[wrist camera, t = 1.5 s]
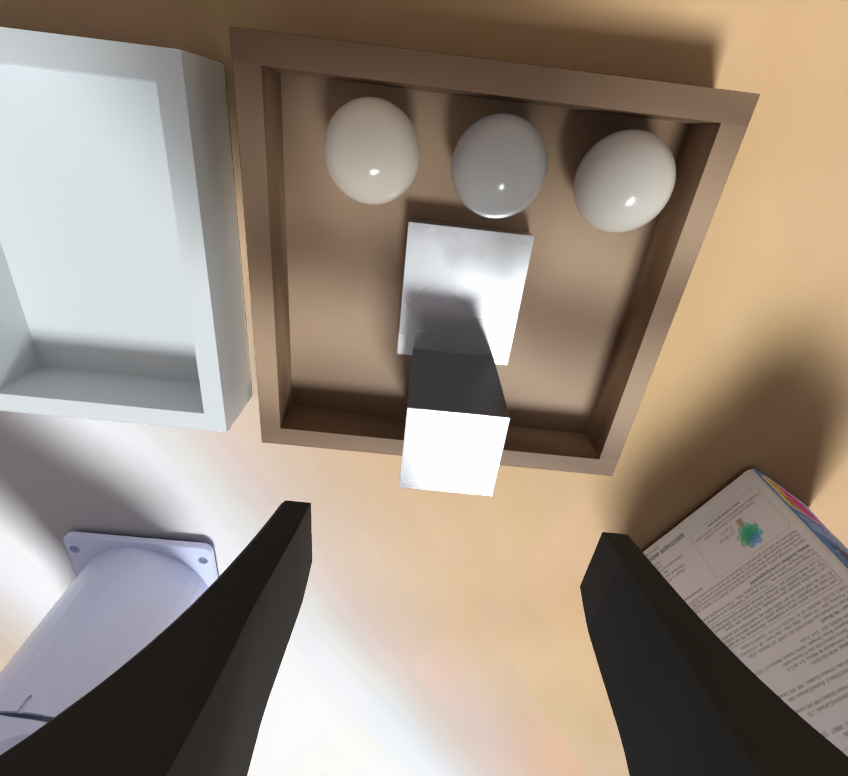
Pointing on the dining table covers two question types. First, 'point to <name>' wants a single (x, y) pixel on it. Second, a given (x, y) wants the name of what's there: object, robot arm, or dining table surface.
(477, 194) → the pebble
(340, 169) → the pebble
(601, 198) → the pebble
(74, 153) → the bin
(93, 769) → the robot arm
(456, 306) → the grey l-shaped block
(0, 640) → the dining table surface
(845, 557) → the ink cartridge box
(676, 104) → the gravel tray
